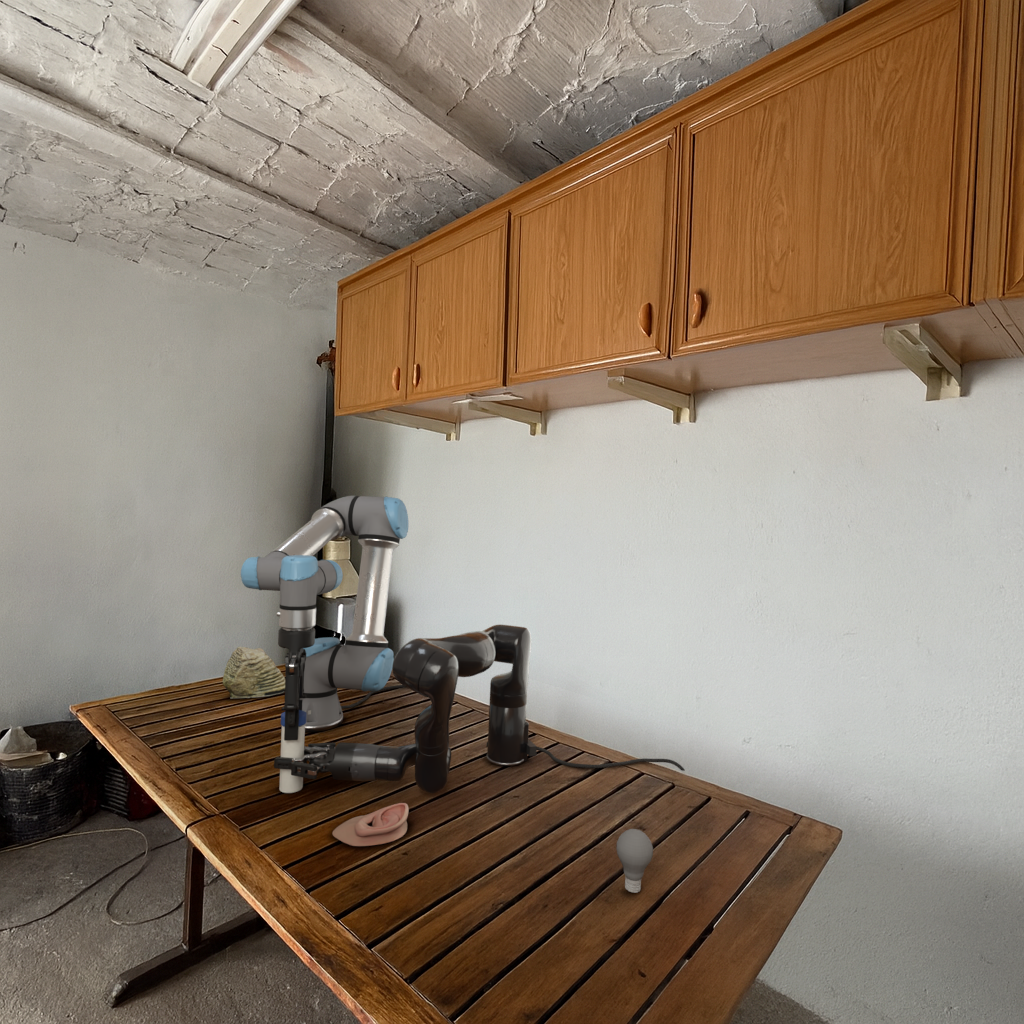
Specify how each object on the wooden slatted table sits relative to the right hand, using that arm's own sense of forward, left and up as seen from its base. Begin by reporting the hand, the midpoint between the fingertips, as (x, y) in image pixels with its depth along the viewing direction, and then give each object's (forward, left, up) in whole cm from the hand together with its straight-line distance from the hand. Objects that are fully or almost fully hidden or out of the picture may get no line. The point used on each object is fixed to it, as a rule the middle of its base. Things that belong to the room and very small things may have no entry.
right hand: (280, 757), depth 137 cm
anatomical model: (-15, +25, -6) cm, 30 cm away
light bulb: (-52, +57, -6) cm, 78 cm away
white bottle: (-2, +1, -6) cm, 7 cm away
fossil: (+4, -68, -6) cm, 68 cm away
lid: (-2, +1, +9) cm, 10 cm away
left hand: (-2, +1, +5) cm, 6 cm away
